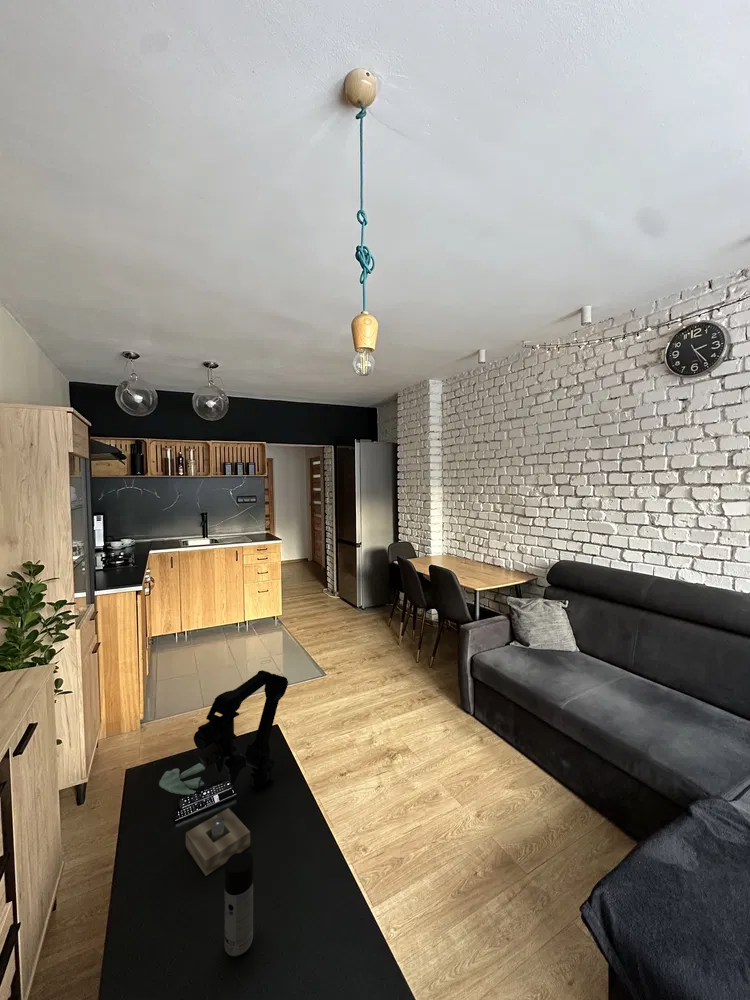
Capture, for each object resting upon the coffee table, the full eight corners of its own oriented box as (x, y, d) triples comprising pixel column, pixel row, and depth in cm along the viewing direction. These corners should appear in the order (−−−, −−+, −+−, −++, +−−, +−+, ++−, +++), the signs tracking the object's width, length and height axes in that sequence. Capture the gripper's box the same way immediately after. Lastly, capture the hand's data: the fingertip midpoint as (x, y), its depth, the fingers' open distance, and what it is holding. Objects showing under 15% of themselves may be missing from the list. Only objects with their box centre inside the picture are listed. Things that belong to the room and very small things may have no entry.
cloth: (158, 772, 164) (158, 766, 163) (218, 757, 173) (218, 752, 172) (155, 808, 145) (155, 802, 145) (222, 790, 154) (222, 783, 154)
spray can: (228, 929, 105) (228, 851, 104) (256, 926, 105) (255, 849, 105) (221, 958, 98) (220, 875, 98) (250, 956, 99) (250, 873, 98)
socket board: (228, 821, 139) (228, 807, 139) (250, 845, 129) (250, 831, 129) (185, 847, 129) (185, 832, 129) (205, 876, 119) (205, 860, 119)
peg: (220, 839, 131) (220, 814, 131) (226, 846, 129) (226, 821, 129) (210, 846, 129) (209, 821, 129) (215, 853, 126) (215, 827, 126)
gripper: (189, 732, 142) (190, 777, 143) (214, 756, 129) (215, 805, 130) (221, 719, 150) (221, 761, 151) (247, 740, 137) (247, 787, 138)
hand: (225, 778), depth 142 cm, fingers open, 9 cm apart
